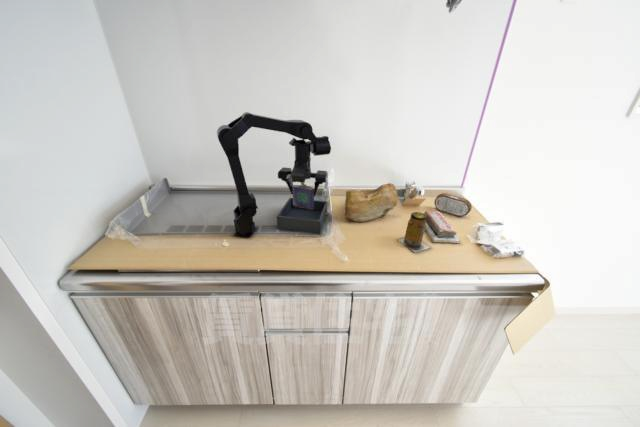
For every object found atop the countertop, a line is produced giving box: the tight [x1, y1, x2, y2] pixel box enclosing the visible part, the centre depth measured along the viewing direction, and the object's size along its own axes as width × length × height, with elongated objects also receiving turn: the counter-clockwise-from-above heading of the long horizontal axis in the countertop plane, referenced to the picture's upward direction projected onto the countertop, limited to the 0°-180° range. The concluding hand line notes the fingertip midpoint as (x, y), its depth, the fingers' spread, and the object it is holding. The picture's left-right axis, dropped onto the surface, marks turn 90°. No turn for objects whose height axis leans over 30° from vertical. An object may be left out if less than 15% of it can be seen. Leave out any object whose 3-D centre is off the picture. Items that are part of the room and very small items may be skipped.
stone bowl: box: [343, 182, 399, 223], centre depth 106 cm, size 23×17×15 cm
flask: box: [292, 181, 315, 209], centre depth 96 cm, size 9×3×11 cm, turn 71°
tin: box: [434, 192, 473, 218], centre depth 109 cm, size 15×3×8 cm, turn 49°
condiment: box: [398, 211, 430, 253], centre depth 86 cm, size 7×8×12 cm
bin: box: [275, 197, 329, 235], centre depth 101 cm, size 18×18×6 cm
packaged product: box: [423, 210, 461, 244], centre depth 96 cm, size 18×5×10 cm
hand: (303, 194), depth 97 cm, fingers closed on flask, 9 cm apart
